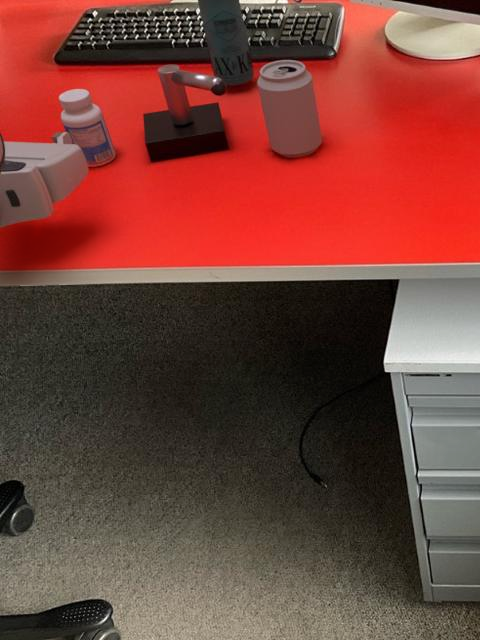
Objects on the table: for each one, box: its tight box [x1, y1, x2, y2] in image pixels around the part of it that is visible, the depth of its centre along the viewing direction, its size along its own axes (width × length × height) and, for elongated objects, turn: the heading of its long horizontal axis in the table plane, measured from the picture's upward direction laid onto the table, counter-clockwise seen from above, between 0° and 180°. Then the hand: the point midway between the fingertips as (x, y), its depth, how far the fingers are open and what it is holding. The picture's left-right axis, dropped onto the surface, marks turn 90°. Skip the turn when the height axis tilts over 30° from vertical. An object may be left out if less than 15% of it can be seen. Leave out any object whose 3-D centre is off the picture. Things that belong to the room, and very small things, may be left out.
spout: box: [157, 64, 228, 125], centre depth 126 cm, size 3×11×8 cm, turn 66°
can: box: [256, 59, 323, 158], centre depth 126 cm, size 8×8×12 cm
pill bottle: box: [58, 88, 117, 168], centre depth 125 cm, size 6×5×10 cm
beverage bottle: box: [197, 0, 255, 86], centre depth 140 cm, size 6×7×20 cm
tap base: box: [142, 102, 230, 163], centre depth 131 cm, size 11×10×3 cm
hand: (30, 135), depth 114 cm, fingers open, 8 cm apart
